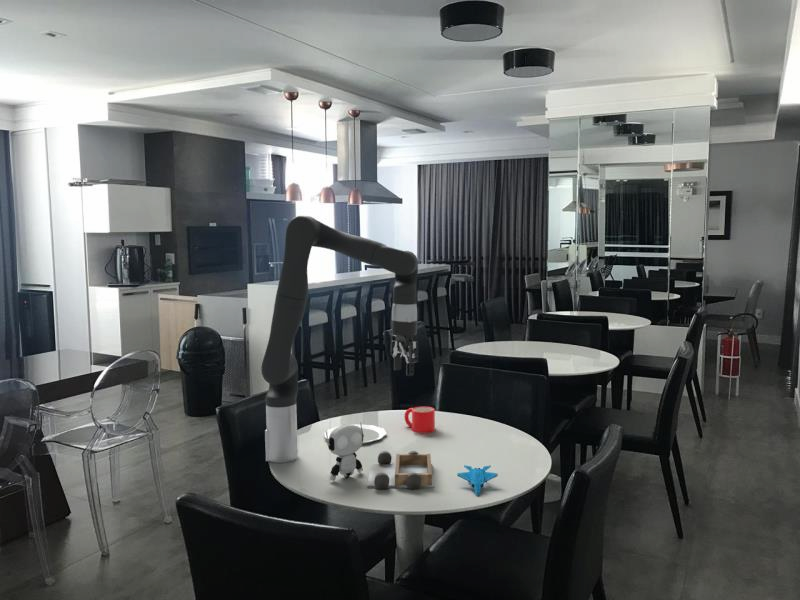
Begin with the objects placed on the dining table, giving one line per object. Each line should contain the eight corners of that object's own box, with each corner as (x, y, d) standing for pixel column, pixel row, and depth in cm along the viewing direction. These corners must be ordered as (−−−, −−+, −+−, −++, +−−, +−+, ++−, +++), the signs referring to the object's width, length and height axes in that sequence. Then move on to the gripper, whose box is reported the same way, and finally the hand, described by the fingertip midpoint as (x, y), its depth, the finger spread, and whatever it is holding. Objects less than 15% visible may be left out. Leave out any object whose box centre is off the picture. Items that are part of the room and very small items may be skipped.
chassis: (366, 489, 177) (366, 475, 176) (371, 464, 197) (371, 451, 196) (434, 489, 176) (433, 475, 176) (431, 463, 196) (431, 450, 196)
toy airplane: (453, 482, 182) (452, 467, 181) (482, 475, 186) (482, 460, 185) (477, 496, 171) (476, 481, 171) (508, 488, 176) (507, 473, 175)
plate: (312, 437, 225) (312, 432, 225) (360, 425, 238) (360, 420, 238) (348, 451, 209) (348, 446, 209) (398, 438, 223) (398, 433, 223)
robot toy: (334, 485, 180) (333, 432, 179) (325, 481, 184) (324, 428, 182) (369, 474, 188) (369, 423, 187) (360, 470, 192) (359, 420, 190)
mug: (410, 425, 237) (410, 403, 236) (439, 430, 230) (438, 408, 229) (398, 430, 231) (397, 408, 230) (426, 436, 224) (426, 413, 223)
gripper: (383, 316, 200) (382, 369, 201) (403, 322, 187) (402, 378, 188) (405, 315, 203) (404, 367, 204) (426, 321, 190) (425, 376, 192)
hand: (403, 372), depth 196 cm, fingers open, 8 cm apart
